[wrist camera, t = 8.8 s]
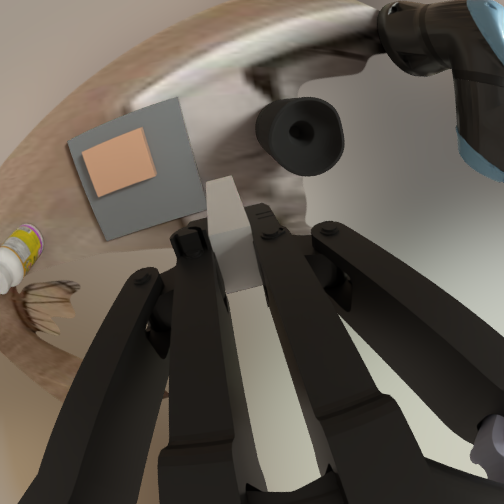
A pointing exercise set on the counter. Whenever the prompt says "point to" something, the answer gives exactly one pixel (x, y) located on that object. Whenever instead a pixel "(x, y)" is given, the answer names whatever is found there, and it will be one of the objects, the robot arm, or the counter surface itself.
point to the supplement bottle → (19, 255)
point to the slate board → (153, 189)
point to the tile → (119, 162)
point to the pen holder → (301, 134)
